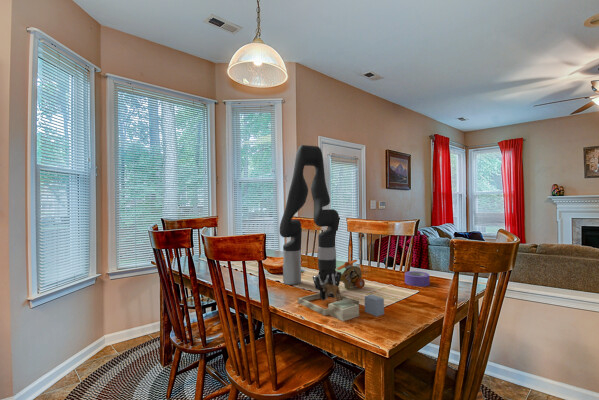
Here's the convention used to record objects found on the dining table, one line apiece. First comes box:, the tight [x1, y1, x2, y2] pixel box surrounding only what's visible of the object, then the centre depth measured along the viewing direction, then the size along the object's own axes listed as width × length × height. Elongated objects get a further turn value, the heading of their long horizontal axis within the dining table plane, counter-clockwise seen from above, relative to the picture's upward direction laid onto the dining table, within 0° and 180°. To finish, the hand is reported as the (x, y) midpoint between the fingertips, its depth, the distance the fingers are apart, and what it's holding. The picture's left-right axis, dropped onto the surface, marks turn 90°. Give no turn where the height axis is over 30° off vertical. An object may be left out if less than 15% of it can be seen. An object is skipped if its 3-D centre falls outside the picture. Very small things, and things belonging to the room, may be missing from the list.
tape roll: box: [404, 270, 430, 288], centre depth 153 cm, size 12×12×5 cm
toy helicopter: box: [328, 259, 366, 290], centre depth 145 cm, size 8×21×14 cm, turn 121°
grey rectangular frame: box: [297, 292, 360, 322], centre depth 121 cm, size 26×18×4 cm
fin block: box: [364, 293, 385, 317], centre depth 114 cm, size 6×4×6 cm, turn 34°
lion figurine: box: [313, 278, 343, 302], centre depth 124 cm, size 15×5×9 cm, turn 49°
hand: (327, 298), depth 125 cm, fingers closed on lion figurine, 4 cm apart
